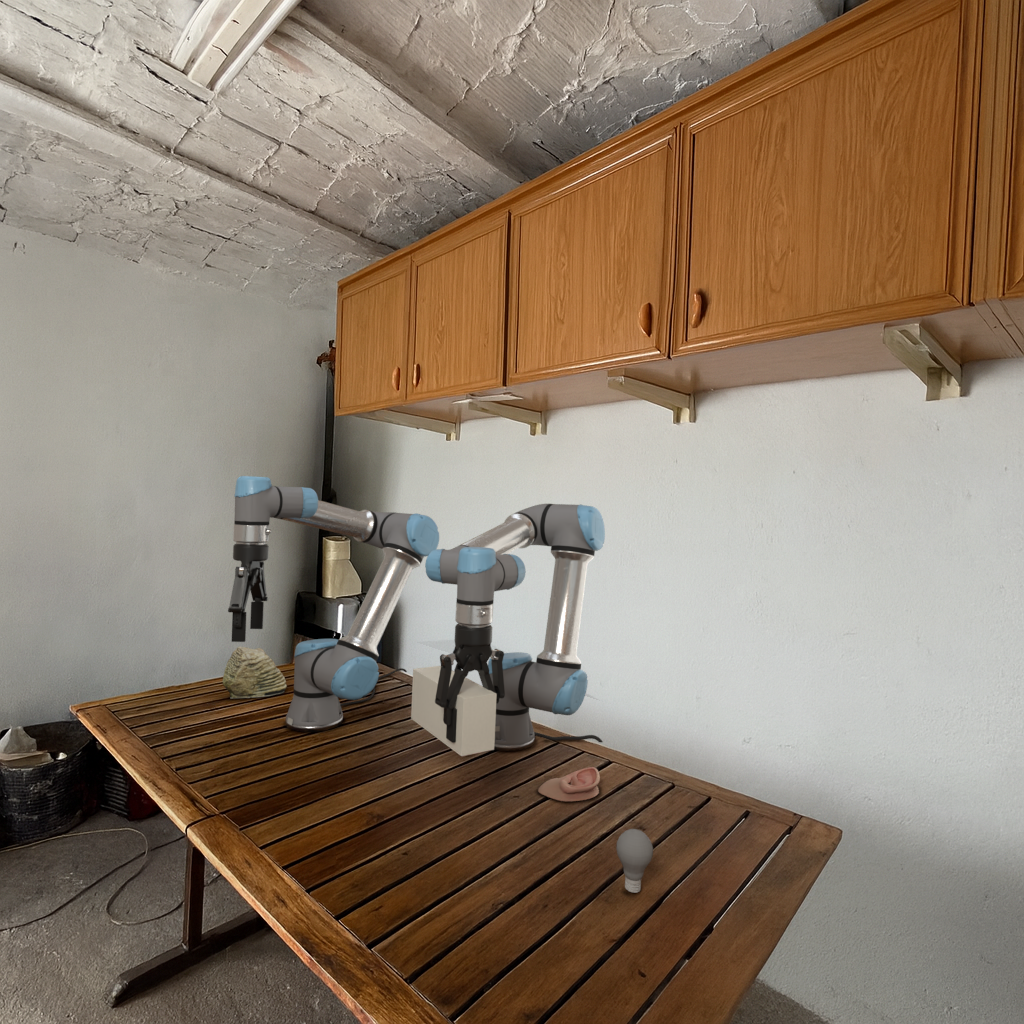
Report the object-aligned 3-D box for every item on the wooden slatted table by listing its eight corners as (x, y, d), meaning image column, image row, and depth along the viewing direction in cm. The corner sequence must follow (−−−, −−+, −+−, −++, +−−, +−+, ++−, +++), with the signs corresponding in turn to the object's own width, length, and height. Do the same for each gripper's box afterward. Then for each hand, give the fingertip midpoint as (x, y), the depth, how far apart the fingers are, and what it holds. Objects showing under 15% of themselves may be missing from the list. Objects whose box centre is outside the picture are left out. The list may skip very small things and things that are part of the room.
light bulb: (610, 879, 108) (613, 822, 108) (644, 879, 109) (647, 822, 109) (619, 902, 102) (622, 840, 102) (655, 901, 103) (658, 840, 103)
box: (410, 718, 142) (413, 668, 142) (440, 713, 147) (442, 665, 146) (461, 756, 123) (463, 698, 122) (494, 749, 127) (496, 693, 127)
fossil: (218, 695, 195) (220, 647, 195) (278, 685, 208) (279, 640, 207) (228, 703, 189) (230, 653, 188) (289, 692, 201) (290, 645, 201)
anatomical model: (536, 779, 137) (544, 758, 148) (535, 797, 137) (543, 775, 148) (598, 787, 134) (601, 766, 146) (597, 806, 134) (600, 783, 146)
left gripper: (251, 548, 134) (248, 647, 134) (281, 540, 159) (278, 624, 159) (214, 546, 133) (211, 647, 134) (250, 539, 158) (247, 623, 158)
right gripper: (436, 631, 119) (431, 752, 119) (526, 624, 130) (521, 734, 130) (419, 623, 125) (414, 738, 125) (506, 617, 136) (501, 723, 137)
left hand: (247, 635), depth 146 cm, fingers open, 13 cm apart
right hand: (469, 736), depth 128 cm, fingers closed on box, 7 cm apart
